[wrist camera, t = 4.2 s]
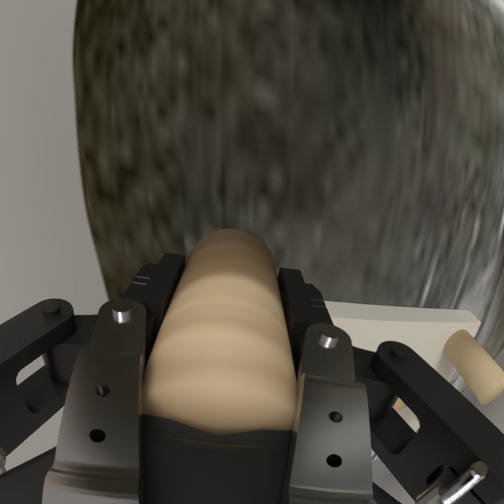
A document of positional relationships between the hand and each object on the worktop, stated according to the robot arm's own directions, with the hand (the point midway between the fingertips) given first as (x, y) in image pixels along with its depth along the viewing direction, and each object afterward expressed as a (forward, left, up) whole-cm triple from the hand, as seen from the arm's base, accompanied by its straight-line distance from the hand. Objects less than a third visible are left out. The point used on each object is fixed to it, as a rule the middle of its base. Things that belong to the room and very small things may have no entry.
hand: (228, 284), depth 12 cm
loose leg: (0, 0, -1) cm, 1 cm away
